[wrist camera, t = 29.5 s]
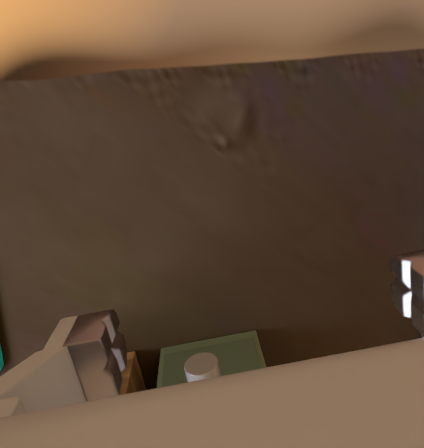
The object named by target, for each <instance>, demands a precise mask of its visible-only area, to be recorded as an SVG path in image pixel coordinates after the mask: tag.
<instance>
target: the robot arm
mask: <svg viewBox="0 0 424 448" xmlns="http://www.w3.org/2000/svg"><path fill="white" fill-rule="evenodd" d="M390 271H391V272H392V273H393V274H394V275H395V276H396V278H395V279H394V281H393V283H392V284H391V291H392V298H393V301H394V304H395V306H396V308H397V309H398V311H399V312H400V313H401V314H402V315H403V316H405V317H408V318H411V320H412V326H413V327H414V328H415V329H416V330H417V331H418V332H419V333H420V334H421V336H422V338H420V339H414V340H409V341H404V342H398V343H393V344H388V345H383V346H377V347H372V348H367V349H362V350H356V351H351V352H346V353H340V354H335V355H330V356H325V357H319V358H314V359H309V360H303V361H298V362H293V363H287V364H282V365H277V366H272V367H266V368H261V369H256V370H250V371H245V372H240V373H234V374H229V375H224V376H218V377H213V378H208V379H203V380H197V381H192V382H187V383H181V384H176V385H171V386H165V387H160V388H155V389H150V390H144V391H139V392H134V393H128V394H123V395H119V394H120V389H121V385H122V381H123V378H122V375H121V372H122V371H123V370H124V369H125V368H126V364H127V349H126V343H125V340H124V336H123V335H122V334H120V333H119V332H118V331H117V330H118V326H119V320H118V317H117V314H116V312H115V311H114V310H107V311H101V312H96V313H90V314H84V315H76V316H72V317H67V318H63V319H61V320H60V321H59V323H58V325H57V326H56V328H55V330H54V331H53V333H52V335H51V337H50V338H49V340H48V342H47V343H46V345H45V347H44V349H43V350H42V351H38V352H36V353H34V354H33V355H31V356H30V357H28V358H27V359H25V360H24V361H22V362H21V363H19V364H18V365H17V366H15V367H14V368H12V369H11V370H9V371H8V372H6V373H5V374H3V375H2V376H0V448H424V250H420V251H415V252H410V253H406V254H401V255H396V256H394V257H392V258H391V262H390Z"/></svg>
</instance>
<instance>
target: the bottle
mask: <svg viewBox="0 0 424 448" xmlns="http://www.w3.org/2000/svg"><path fill="white" fill-rule="evenodd" d="M184 370H185V375H186V379H187V382H192V381H197V380H203V379H208V378H213V377H218V376H221V372H220V367H219V362H218V359H217V357H216V356H215V355H214V354H212V353H208V352H202V353H197V354H195V355H193V356H191V357H190V358H188V359H187V361H186V362H185V364H184Z"/></svg>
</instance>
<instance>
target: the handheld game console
mask: <svg viewBox="0 0 424 448" xmlns="http://www.w3.org/2000/svg"><path fill="white" fill-rule="evenodd" d="M3 366H4V361H3V356H2V350H1V345H0V371H1V370H2V368H3Z"/></svg>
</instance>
